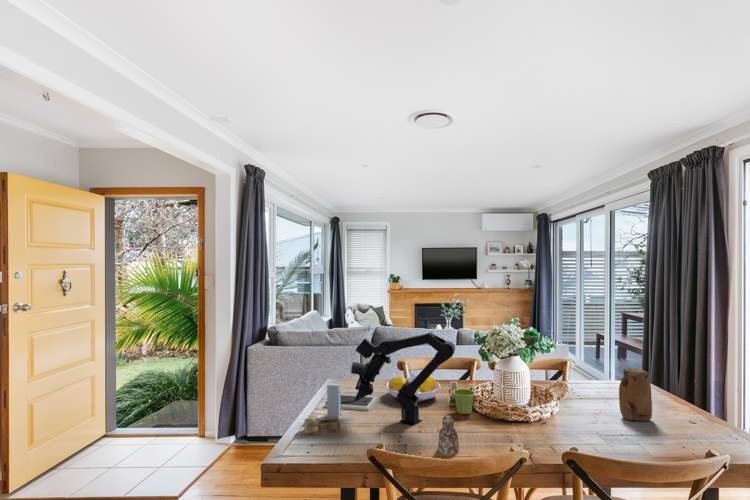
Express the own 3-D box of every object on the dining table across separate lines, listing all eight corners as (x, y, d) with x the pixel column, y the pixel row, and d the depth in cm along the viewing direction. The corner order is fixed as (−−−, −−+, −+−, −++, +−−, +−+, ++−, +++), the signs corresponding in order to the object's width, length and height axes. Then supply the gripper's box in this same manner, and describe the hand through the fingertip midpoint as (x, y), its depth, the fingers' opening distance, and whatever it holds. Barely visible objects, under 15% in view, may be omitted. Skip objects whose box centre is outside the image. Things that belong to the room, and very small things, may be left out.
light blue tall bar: (340, 415, 177) (340, 383, 177) (338, 417, 174) (338, 385, 174) (329, 414, 178) (329, 383, 178) (327, 417, 175) (327, 385, 175)
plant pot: (466, 417, 172) (466, 396, 172) (449, 412, 179) (448, 392, 179) (479, 412, 178) (479, 392, 179) (462, 407, 185) (461, 387, 186)
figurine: (436, 453, 140) (435, 417, 141) (440, 444, 147) (439, 410, 147) (457, 456, 138) (456, 420, 138) (460, 447, 144) (459, 413, 145)
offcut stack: (317, 425, 163) (316, 413, 163) (318, 431, 157) (318, 418, 157) (304, 427, 162) (304, 414, 162) (305, 432, 156) (305, 420, 156)
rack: (337, 426, 165) (337, 417, 165) (340, 432, 159) (339, 423, 159) (304, 429, 162) (304, 420, 162) (305, 435, 156) (305, 426, 156)
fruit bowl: (394, 387, 217) (394, 365, 217) (445, 391, 208) (445, 369, 208) (376, 404, 190) (376, 379, 191) (434, 410, 181) (434, 384, 182)
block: (641, 414, 173) (639, 366, 174) (655, 421, 165) (653, 371, 166) (617, 416, 172) (615, 367, 173) (630, 422, 164) (628, 372, 165)
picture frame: (325, 408, 187) (368, 412, 182) (325, 402, 187) (368, 406, 182) (337, 398, 202) (377, 401, 197) (337, 392, 203) (377, 395, 197)
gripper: (359, 347, 182) (341, 375, 184) (358, 365, 164) (338, 396, 166) (380, 359, 183) (362, 387, 185) (381, 379, 165) (361, 410, 167)
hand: (355, 394), depth 176 cm, fingers open, 9 cm apart
